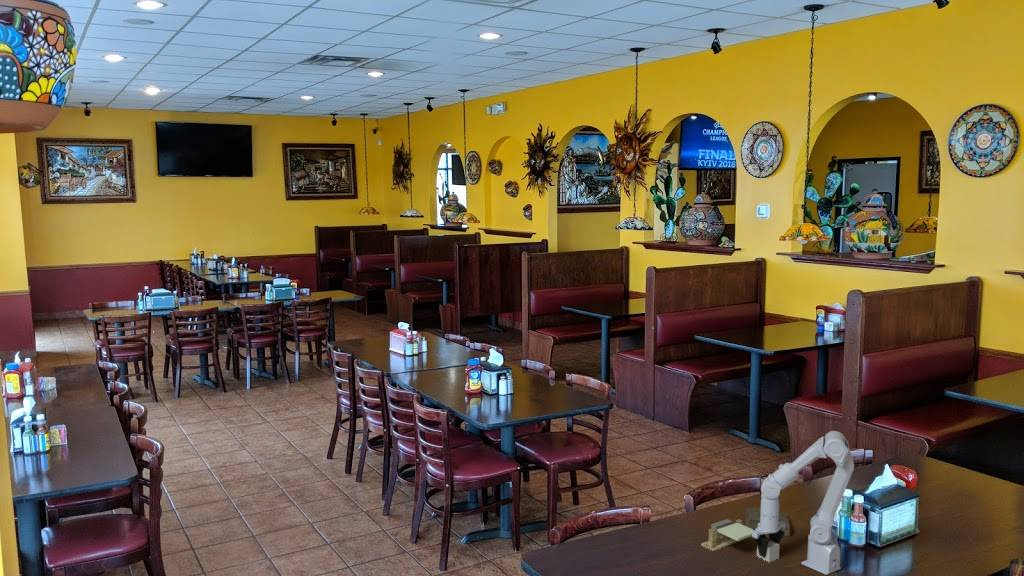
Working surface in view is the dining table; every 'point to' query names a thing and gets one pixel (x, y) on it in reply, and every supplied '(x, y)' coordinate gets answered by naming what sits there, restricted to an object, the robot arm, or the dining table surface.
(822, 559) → the robot arm
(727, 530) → the trapdoor
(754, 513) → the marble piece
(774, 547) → the white cube
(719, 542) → the frame
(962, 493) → the dining table surface
